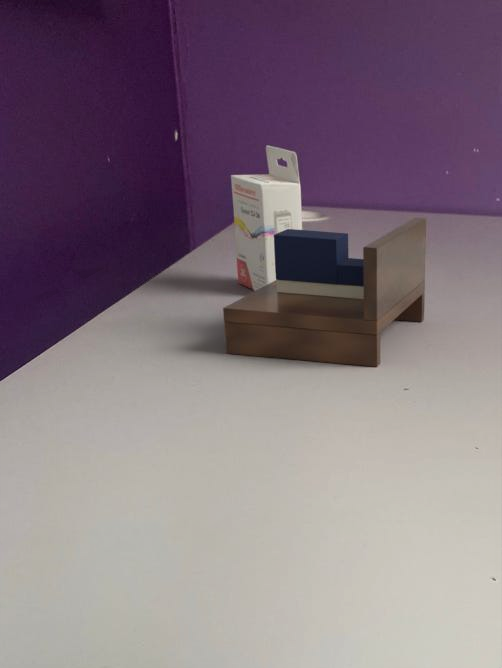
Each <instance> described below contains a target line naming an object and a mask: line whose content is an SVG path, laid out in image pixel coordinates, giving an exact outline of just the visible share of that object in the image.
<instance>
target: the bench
mask: <svg viewBox="0 0 502 668" xmlns="http://www.w3.org/2000/svg"><path fill="white" fill-rule="evenodd" d="M426 240H427V218H426V217H414V218H412V219H410V220H409V221H407V222H404V223H403V224H401V225H400V226H398V227H396V228H394V229H393V230H390V231H389V232H387V233H386V234H383V235H382V236H381V237H379V238H377V239H374V240H373V241H371V242H370V243H368V244H367V245H365V246H363V249H362V251H363V252H362V254H363V255H362V259H363V275H364V299H352V298H340V297H328V296H316V295H304V294H292V293H279V292H277V280H275V281H273V282H271V283H270V284H268V285H266V286H264V287H262V288H260V289H258V290H256V291H253V292H251V293H248V294H247V295H245V296H243V297H242V298H239V299H238V300H236V301H233V302H232V303H230V304H228V305H227V306H224V307H223V308H222V310H223V311H222V312H223V322H224V323H223V325H224V337H225V350H226V351H225V353H226V354H229V355H239V356H240V355H241V356H252V357H263V358H273V359H274V358H275V359H284V360H285V359H286V360H295V361H306V362H307V361H308V362H318V363H329V364H339V365H340V364H341V365H349V366H350V365H352V366H360V367H361V366H362V367H373V368H377V367H378V366H379V365H380V364H381V332H382V331H383V330H384V329H385V328H386V327H388V326H389V325H390V324H391V323H392V322H393V321H406V322H417V323H422V322H423V321H424V320H425V301H426V300H425V298H426V297H425V295H426V294H425V292H426V252H427V251H426V244H427V241H426Z"/></svg>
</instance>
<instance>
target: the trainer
mask: <svg viewBox="0 0 502 668" xmlns="http://www.w3.org/2000/svg"><path fill="white" fill-rule="evenodd" d="M274 251H275V272H276V280H277V292H279V293H292V294H304V295H316V296H328V297H340V298H352V299H364V275H363V258H352V257H349V233H347V232H333V231H320V230H306V229H302V230H295V229H287V230H284V231H282V232H279V233H277V234H275V235H274Z"/></svg>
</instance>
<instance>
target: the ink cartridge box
mask: <svg viewBox="0 0 502 668" xmlns="http://www.w3.org/2000/svg"><path fill="white" fill-rule="evenodd" d="M265 154H266V162H267V168H268V173H266V174H263V173H262V174H260V173H259V174H231V175H230V180H231V181H230V182H231V193H232V195H231V196H232V206H233V222H234V223H233V224H234V238H235V239H234V240H235V255H236V268H237V281H238V282H237V283H238V284H239V285H242V286H245V287H246V288H248V289H250V290H252V291H253V292H255V291H256V290H258V289H260V288H262V287H264V286H266V285H268V284H270V283H271V282H273V281H275V280H276V272H275V251H274V235H275V234H277V233H279V232H282V231H284V230H287V229H295V230H303V217H302V214H303V213H302V191H301V189H302V187H301V181H300V173H299V163H298V155H297V153H296V152H295V151H292V150H288V149H285V148H281V147H277V146H271V145H268V144H267V145H266V146H265ZM281 159H282V160H283V161H284V162H286V165H287V166H283V165H281V164H279V163H278V160H281Z"/></svg>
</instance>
